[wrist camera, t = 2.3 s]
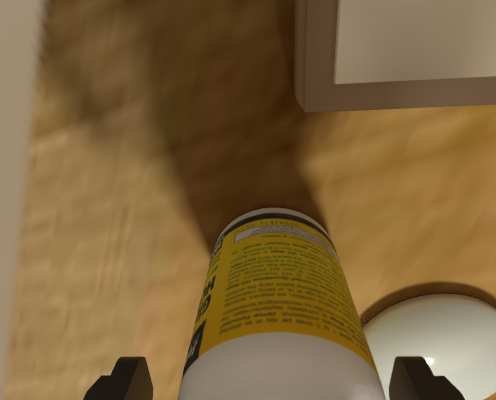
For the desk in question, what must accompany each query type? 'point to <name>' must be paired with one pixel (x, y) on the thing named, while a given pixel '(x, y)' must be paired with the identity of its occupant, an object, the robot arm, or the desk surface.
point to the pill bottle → (277, 318)
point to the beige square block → (394, 54)
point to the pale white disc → (439, 340)
